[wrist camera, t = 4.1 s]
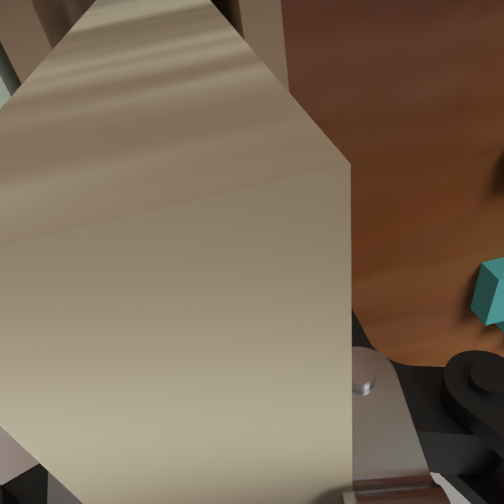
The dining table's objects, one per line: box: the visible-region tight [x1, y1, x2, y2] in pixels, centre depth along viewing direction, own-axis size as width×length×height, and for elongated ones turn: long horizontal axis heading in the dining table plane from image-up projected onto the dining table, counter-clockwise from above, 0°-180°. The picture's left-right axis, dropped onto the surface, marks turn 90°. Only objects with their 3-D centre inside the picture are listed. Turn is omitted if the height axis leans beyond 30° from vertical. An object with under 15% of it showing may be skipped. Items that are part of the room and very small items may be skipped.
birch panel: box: [0, 0, 352, 504], centre depth 12 cm, size 12×3×15 cm, turn 9°
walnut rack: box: [0, 0, 290, 93], centre depth 16 cm, size 24×13×7 cm, turn 9°
